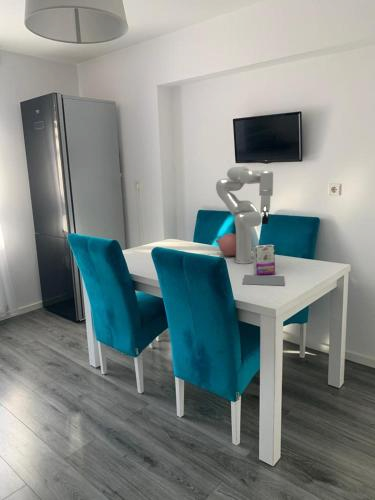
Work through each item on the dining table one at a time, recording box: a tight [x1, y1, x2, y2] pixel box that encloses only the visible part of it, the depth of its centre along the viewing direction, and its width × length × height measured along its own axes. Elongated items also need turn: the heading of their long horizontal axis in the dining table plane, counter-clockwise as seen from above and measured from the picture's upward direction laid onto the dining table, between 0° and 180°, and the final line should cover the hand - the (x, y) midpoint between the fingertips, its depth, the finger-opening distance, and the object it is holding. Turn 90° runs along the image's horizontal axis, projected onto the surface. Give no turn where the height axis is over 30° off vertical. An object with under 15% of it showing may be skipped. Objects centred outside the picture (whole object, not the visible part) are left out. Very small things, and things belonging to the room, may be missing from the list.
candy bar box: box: [252, 244, 276, 276], centre depth 230 cm, size 11×5×16 cm, turn 101°
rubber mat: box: [241, 274, 286, 287], centre depth 219 cm, size 17×22×1 cm
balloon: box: [215, 233, 236, 257], centre depth 276 cm, size 15×20×15 cm
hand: (265, 222), depth 235 cm, fingers open, 9 cm apart
